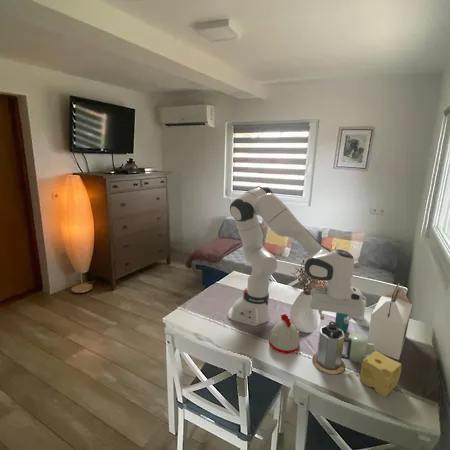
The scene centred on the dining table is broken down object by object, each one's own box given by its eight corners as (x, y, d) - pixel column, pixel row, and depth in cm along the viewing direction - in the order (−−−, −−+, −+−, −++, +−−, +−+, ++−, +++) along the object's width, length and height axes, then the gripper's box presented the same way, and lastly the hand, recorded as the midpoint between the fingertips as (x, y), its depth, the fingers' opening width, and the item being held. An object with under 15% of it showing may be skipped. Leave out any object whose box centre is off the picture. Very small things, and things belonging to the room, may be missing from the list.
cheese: (385, 398, 106) (389, 375, 104) (357, 380, 115) (360, 358, 112) (398, 385, 112) (402, 363, 110) (371, 369, 121) (374, 348, 118)
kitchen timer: (277, 356, 127) (279, 326, 124) (264, 337, 140) (265, 309, 136) (305, 350, 131) (308, 321, 127) (290, 332, 144) (292, 305, 140)
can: (351, 319, 156) (354, 299, 153) (350, 313, 162) (353, 293, 159) (364, 321, 154) (367, 301, 151) (363, 315, 160) (366, 295, 157)
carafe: (312, 370, 119) (316, 338, 115) (311, 350, 131) (315, 320, 127) (349, 378, 115) (354, 345, 112) (345, 356, 128) (349, 326, 124)
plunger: (321, 354, 119) (324, 327, 116) (320, 343, 126) (323, 317, 123) (339, 358, 118) (343, 330, 114) (337, 346, 124) (341, 320, 121)
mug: (347, 360, 125) (350, 342, 123) (345, 349, 132) (347, 331, 130) (372, 365, 123) (376, 346, 121) (369, 353, 130) (372, 335, 128)
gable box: (398, 360, 126) (409, 302, 119) (365, 348, 134) (374, 292, 127) (405, 336, 143) (416, 284, 136) (376, 326, 151) (384, 276, 144)
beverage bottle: (349, 334, 143) (354, 297, 138) (335, 332, 144) (339, 296, 139) (346, 327, 149) (351, 291, 144) (333, 325, 151) (337, 290, 146)
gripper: (311, 289, 115) (307, 320, 118) (367, 297, 110) (361, 329, 114) (310, 283, 121) (307, 312, 124) (363, 290, 116) (358, 320, 120)
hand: (333, 320), depth 119 cm, fingers open, 8 cm apart
